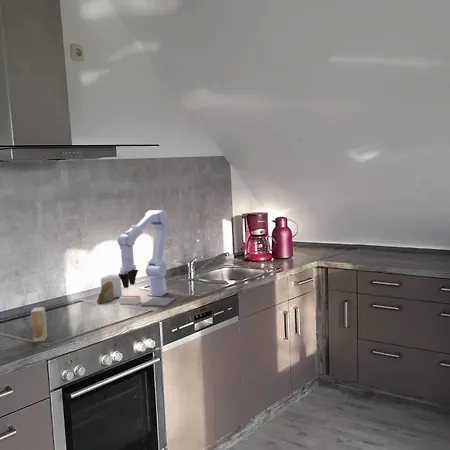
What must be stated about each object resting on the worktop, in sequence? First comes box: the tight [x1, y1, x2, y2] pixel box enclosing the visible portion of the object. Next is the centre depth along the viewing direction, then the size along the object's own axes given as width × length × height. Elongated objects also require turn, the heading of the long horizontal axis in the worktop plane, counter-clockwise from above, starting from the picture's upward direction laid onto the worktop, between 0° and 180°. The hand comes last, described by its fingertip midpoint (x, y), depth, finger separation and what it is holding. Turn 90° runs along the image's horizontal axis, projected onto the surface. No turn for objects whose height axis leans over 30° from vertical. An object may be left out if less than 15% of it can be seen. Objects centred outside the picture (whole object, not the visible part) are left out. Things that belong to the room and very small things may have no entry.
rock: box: [96, 282, 114, 304], centre depth 286 cm, size 11×9×10 cm
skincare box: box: [30, 306, 48, 343], centre depth 223 cm, size 6×4×12 cm
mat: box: [141, 297, 176, 308], centre depth 276 cm, size 14×12×1 cm
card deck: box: [118, 294, 142, 305], centre depth 280 cm, size 5×9×4 cm, turn 74°
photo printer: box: [100, 273, 123, 299], centre depth 294 cm, size 10×4×12 cm, turn 113°
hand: (129, 286), depth 279 cm, fingers open, 7 cm apart
